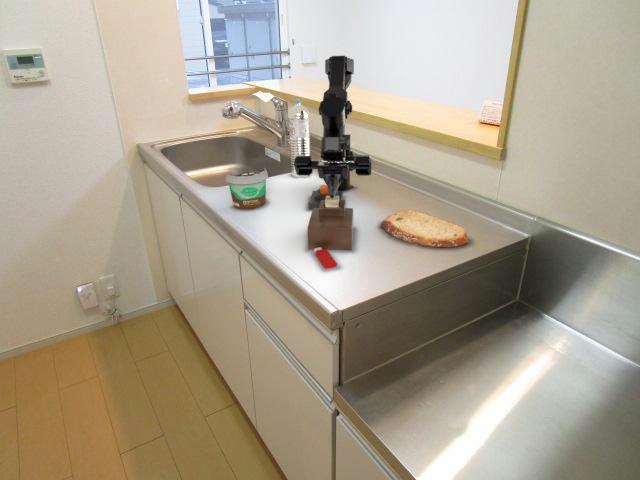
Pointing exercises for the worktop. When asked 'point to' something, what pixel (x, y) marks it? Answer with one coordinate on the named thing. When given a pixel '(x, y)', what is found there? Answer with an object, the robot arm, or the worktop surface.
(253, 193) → the food container
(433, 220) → the bread slice
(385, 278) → the worktop surface
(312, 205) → the power block
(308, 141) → the water bottle
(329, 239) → the stand
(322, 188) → the power button
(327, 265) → the lighter
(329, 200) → the beige block
